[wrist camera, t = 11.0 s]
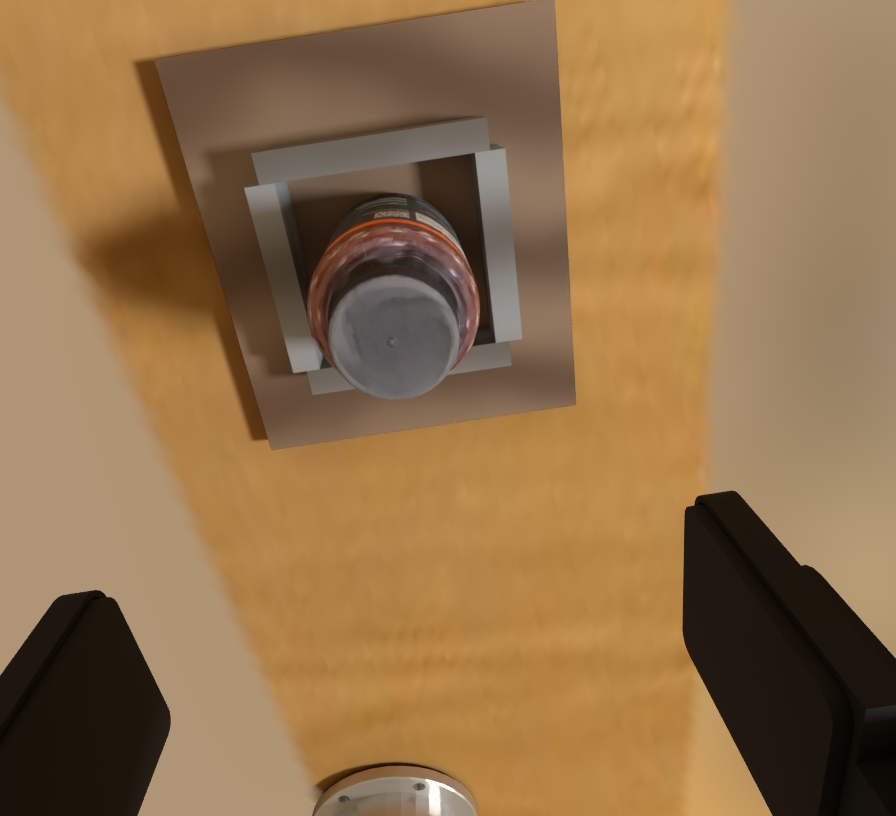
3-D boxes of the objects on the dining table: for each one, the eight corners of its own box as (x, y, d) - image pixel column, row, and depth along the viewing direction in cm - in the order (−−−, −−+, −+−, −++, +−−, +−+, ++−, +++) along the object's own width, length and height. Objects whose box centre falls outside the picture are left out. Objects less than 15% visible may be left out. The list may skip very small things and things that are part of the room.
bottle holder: (570, 395, 34) (588, 427, 31) (275, 439, 34) (261, 475, 31) (548, 2, 26) (569, -13, 23) (164, 60, 26) (128, 55, 23)
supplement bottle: (377, 342, 31) (362, 462, 21) (304, 235, 28) (246, 310, 18) (484, 279, 30) (525, 373, 19) (418, 162, 27) (425, 200, 17)
